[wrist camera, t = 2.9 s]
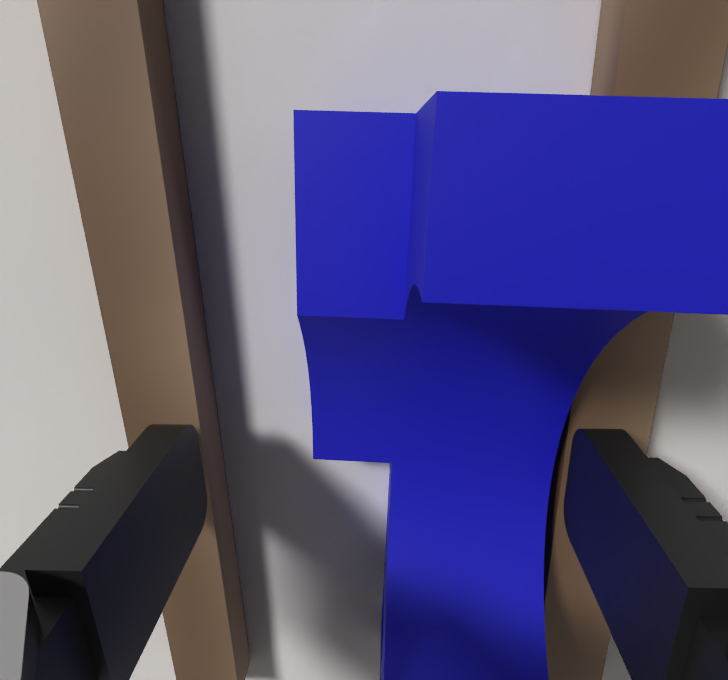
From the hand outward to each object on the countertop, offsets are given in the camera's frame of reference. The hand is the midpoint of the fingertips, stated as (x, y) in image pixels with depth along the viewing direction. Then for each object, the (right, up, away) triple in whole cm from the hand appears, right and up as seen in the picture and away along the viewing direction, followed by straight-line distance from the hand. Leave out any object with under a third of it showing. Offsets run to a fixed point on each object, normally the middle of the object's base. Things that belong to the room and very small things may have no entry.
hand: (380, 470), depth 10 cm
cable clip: (+1, +1, +2) cm, 2 cm away
